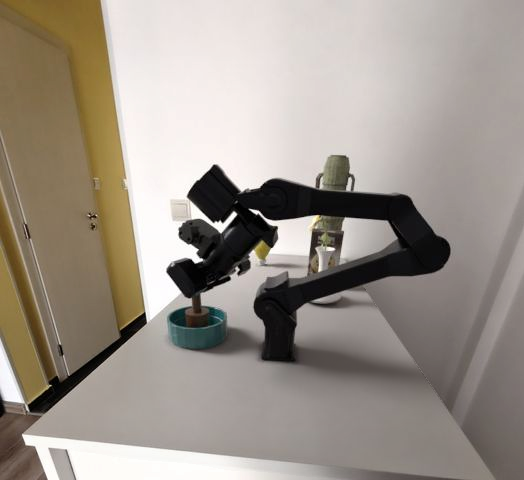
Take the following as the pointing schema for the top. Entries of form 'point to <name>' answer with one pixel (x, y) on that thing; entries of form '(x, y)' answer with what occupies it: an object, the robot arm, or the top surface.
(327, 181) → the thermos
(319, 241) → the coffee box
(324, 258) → the flower in vase
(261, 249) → the light bulb
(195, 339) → the bowl
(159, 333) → the top surface
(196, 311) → the brown peg stamp
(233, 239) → the robot arm
